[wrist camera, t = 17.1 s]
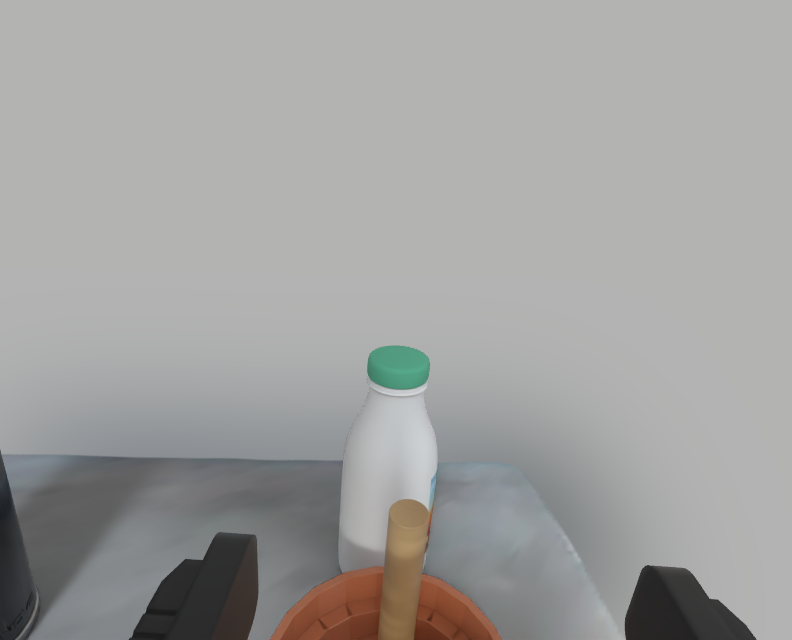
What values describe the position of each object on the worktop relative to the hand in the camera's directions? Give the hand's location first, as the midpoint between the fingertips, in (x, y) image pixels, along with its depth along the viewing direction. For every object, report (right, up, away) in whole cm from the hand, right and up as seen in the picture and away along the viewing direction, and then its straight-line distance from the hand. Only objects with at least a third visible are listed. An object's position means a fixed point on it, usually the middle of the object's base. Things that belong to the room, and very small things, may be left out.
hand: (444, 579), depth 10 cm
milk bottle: (-2, -16, +32) cm, 36 cm away
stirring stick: (-2, -20, +19) cm, 28 cm away
